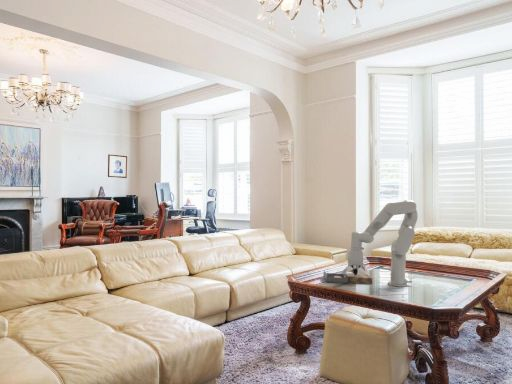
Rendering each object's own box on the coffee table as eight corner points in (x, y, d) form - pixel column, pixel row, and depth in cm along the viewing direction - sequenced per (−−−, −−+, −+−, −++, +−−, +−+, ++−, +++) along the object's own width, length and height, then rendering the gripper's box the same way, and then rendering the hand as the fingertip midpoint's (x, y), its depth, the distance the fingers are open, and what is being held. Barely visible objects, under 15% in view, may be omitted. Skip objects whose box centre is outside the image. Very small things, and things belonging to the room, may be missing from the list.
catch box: (343, 278, 279) (344, 271, 279) (348, 283, 265) (348, 275, 265) (323, 277, 280) (323, 270, 280) (326, 282, 266) (326, 275, 266)
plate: (367, 280, 278) (367, 274, 278) (372, 283, 266) (372, 278, 266) (345, 279, 278) (345, 273, 278) (349, 282, 266) (349, 277, 266)
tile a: (351, 274, 275) (351, 271, 275) (353, 276, 269) (354, 273, 269) (345, 274, 275) (345, 271, 275) (347, 276, 269) (347, 273, 269)
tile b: (333, 275, 275) (333, 278, 275) (335, 277, 269) (335, 280, 269) (340, 276, 275) (340, 279, 275) (341, 278, 269) (341, 280, 269)
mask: (372, 261, 310) (365, 267, 283) (372, 272, 310) (364, 279, 283) (348, 258, 319) (338, 263, 292) (347, 269, 319) (338, 275, 292)
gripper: (365, 248, 276) (364, 274, 276) (344, 247, 276) (343, 273, 276) (368, 250, 268) (367, 276, 268) (346, 249, 269) (345, 275, 269)
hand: (355, 274), depth 272 cm, fingers closed
